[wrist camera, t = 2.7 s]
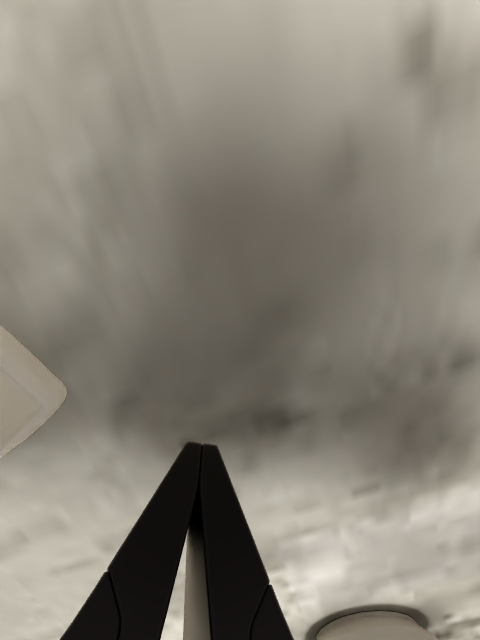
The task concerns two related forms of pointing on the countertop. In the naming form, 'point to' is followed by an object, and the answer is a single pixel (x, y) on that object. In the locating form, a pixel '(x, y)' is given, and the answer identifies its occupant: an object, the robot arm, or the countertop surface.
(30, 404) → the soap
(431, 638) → the can
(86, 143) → the countertop surface
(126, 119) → the countertop surface
